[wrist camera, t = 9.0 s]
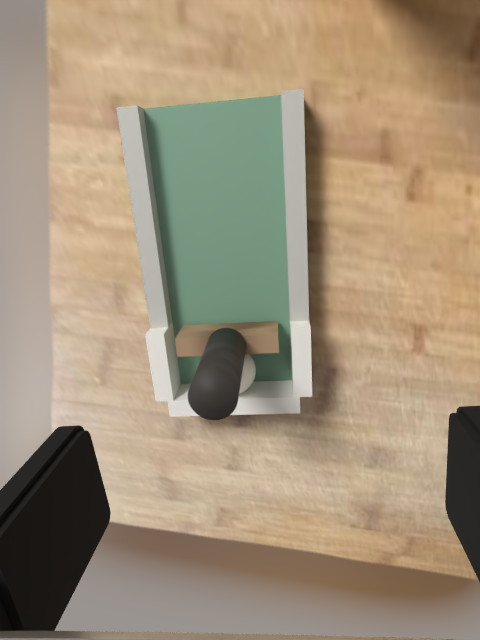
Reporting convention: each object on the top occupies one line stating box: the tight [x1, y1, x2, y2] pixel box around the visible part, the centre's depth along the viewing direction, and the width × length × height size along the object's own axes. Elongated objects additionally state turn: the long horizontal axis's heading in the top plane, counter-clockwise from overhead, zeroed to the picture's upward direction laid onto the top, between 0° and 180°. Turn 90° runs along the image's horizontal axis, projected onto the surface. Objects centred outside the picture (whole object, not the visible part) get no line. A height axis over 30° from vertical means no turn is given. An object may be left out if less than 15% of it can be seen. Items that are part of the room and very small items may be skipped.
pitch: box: [117, 89, 312, 417], centre depth 33 cm, size 13×24×4 cm, turn 4°
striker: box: [175, 321, 279, 420], centre depth 30 cm, size 8×3×11 cm, turn 94°
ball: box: [239, 354, 256, 394], centre depth 34 cm, size 4×4×4 cm
